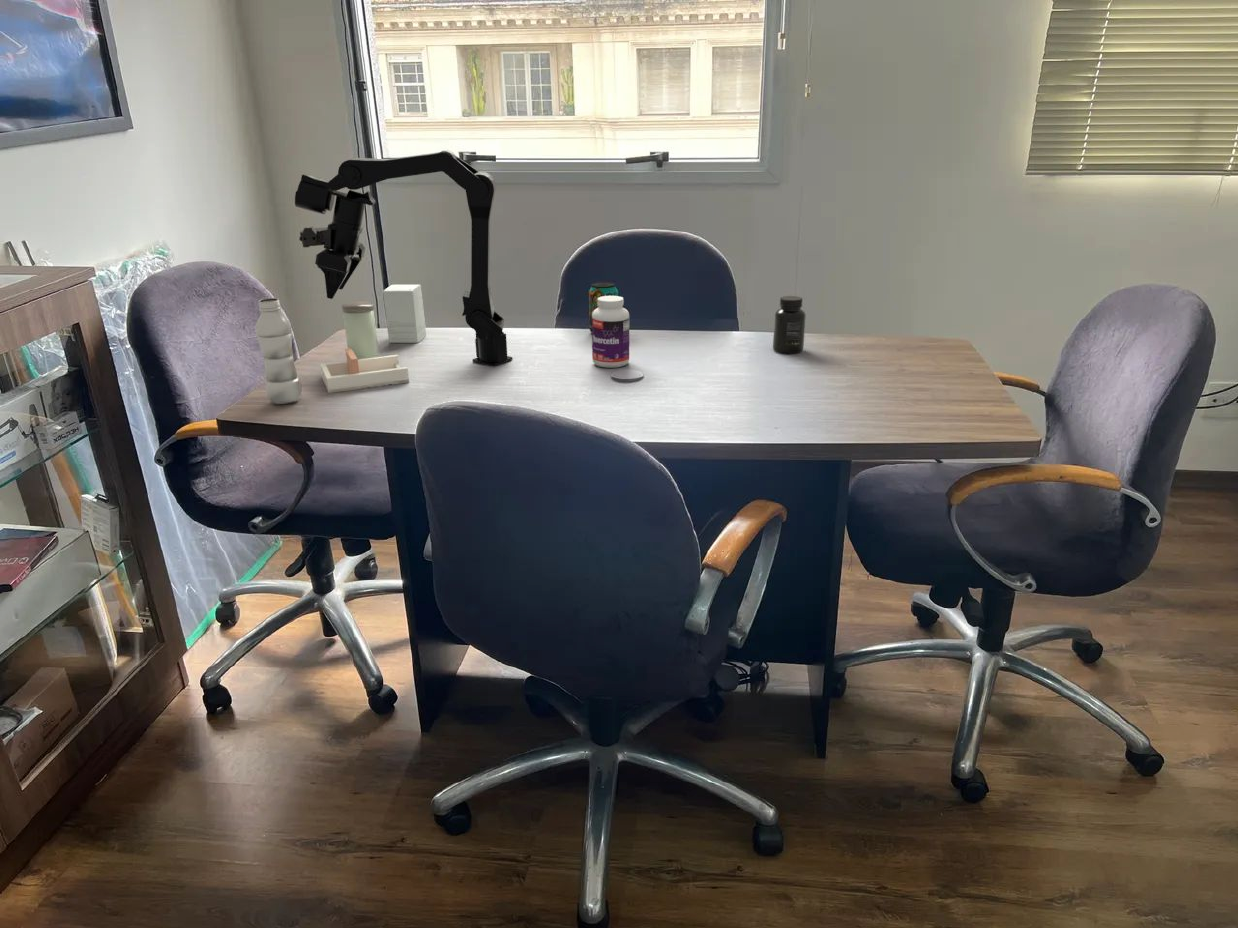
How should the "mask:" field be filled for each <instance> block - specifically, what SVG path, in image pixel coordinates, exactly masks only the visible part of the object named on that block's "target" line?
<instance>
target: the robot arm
mask: <svg viewBox="0 0 1238 928" xmlns="http://www.w3.org/2000/svg"><path fill="white" fill-rule="evenodd" d="M442 172H443V173H444V174H446V176H448V177H449V178H450V179H451V180H453V182H455V183H456V184H457V185H458V186H459V187H461V188H462V189H463V190H464V191H465V194H466V201H467V207H468V210H469V215H470V219H471V243H470V244H471V245H470V246H471V249H470V253H471V257H470V258H471V259H470V260H471V262H470V265H471V266H470V267H471V269H470V270H471V271H470V273H471V275H470V276H471V277H470V279H471V282H470V285H471V286H470V291H468V290H465V291H464V293H463V294H462V303H463V312H462V314H461V316H462V317H464V316H465V322H466V325H468V326H469V327H470V328H471V329H472V330H474V332H475V338H474V339H475V340H474V341H475V353H476V355H475V356H476V357H474V358H472V362H473V363H477V364H481V365H482V364H483V365H487V366H491V367H495V366H498V365H500V364H503V363H507V362H509V361H511V360H513V358H514V357H513V356H508V344H507V343H508V342H507V334H506V333H504V331H503V330H504V325H505V321H506V320H505V319H504V318H503V317H502V316H501V315H500V314H499V313H497V312H496V310H495V307H494V301H493V300H494V299H493V295H492V291H491V287H490V251H491V249H490V247H491V246H490V245H491V244H490V241H491V239H490V238H491V235H490V233H491V232H490V231H491V227H490V225H491V215H492V211H493V206H494V200H495V196H496V191H497V190H496V189H497V185H496V183H497V182H496V180H495V179H494V177H493V176H492V175H491V174H490V173H488V172H485V171H478V170H477V169H476V168H474V167H473V166H472V165H470V164H469V163H467V162H466V161H464V160H463V159H461V158H460V157H458V156H457V155H456V154H455V153H454V152H453V151H452V150H449V149H444V150H442V151H439V152H431V153H424V154H416V155H409V156H402V157H395V158H388V159H386V158H385V159H383V158H382V159H381V158H371V157H370V158H369V157H353V158H350V159H347V160H345V161H342V162H341V163H340V165H339V167H338V171H337V174H336V175H335V176H334V177H332V178H330V179H329V180H325V179H322V178H319V177H314V176H313V175H311V174H307V173H304V174H302V175H301V177H300V180H299V184H298V186H297V190H295V195H294V205H295V207H296V208H299V209H303V210H307V211H310V212H313V213H318V214H321V215H326V213H327V211H329V212H331V211H332V210H333V215H332V220H331V221H332V222H330V223H329V224H328V225H327V227H314V226H310V227H307V226H306V227H304V228H303V229H302V230H301V231H299V235H300V236H299V238H298V239H299V241H300V242H301V243H302V244H301V245H302V248H310V247H316V246H317V247H318V246H323V250H322V251H320V252H318V253H317V254H316V255H315V256H316V257H315V262H314V264H315V265H316V267H317V268H319V270H321V271H322V273H323V274H324V283H325V291H326V298H327V299H330V300H332V299H334V297H335V296H336V294H337V292H338V291H339V290H343V289H344V288H345V286H346V284H347V283H348V282H349V280H350V279H351V277H352V275H353V274H354V272H355V271H356V269H357V268H358V266H359V265H360V263H361V262H362V259H363V258H364V257H365V253H366V247H365V246H364V244H363V243H362V242H359V240H360V235H361V234H362V233H363V228H364V227H362V225H363V224H362V222H363V218H364V212H365V206H373V205H375V204H376V200H375V198H374V197H373V196H372V194H371V191H370V190H368V191H366V192H364V193H362V192H359V191H355V190H359V189H363V188H366V187H369V186H372V185H374V184H377V183H380V182H382V181H383V182H384V181H387V180H389V179H391V180H392V179H396V178H397V179H398V178H404V177H405V178H406V177H411V176H418V175H426V174H432V173H433V174H434V173H442ZM345 188H346V189H348V192H343V191H340V190H342V189H345ZM333 207H334V209H333ZM356 255H358V256H356Z"/></svg>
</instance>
